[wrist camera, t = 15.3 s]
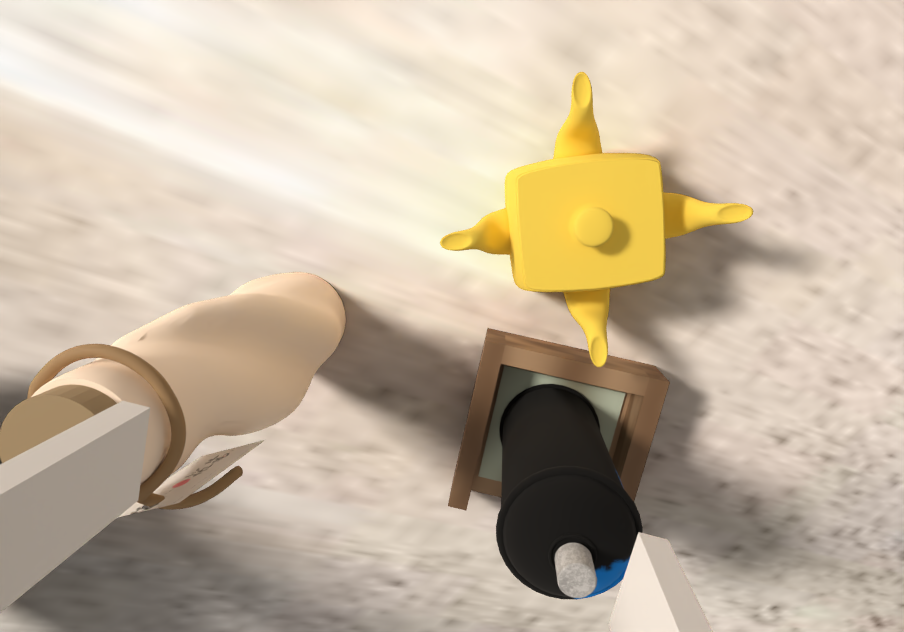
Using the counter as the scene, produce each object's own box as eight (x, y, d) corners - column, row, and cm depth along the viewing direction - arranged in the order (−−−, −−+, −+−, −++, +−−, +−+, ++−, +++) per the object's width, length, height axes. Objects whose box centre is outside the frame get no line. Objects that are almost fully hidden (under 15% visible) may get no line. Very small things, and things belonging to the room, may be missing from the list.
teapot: (449, 236, 48) (436, 244, 39) (562, 89, 45) (578, 60, 36) (589, 346, 49) (609, 381, 39) (709, 209, 46) (762, 211, 36)
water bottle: (385, 339, 50) (238, 506, 23) (306, 399, 52) (81, 620, 24) (309, 242, 49) (60, 294, 22) (231, 306, 51) (-92, 428, 23)
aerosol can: (479, 437, 50) (461, 590, 30) (540, 362, 48) (564, 472, 28) (557, 495, 50) (589, 683, 30) (620, 422, 48) (698, 572, 29)
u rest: (453, 480, 52) (447, 505, 48) (487, 328, 49) (485, 340, 45) (610, 517, 51) (620, 547, 47) (655, 365, 48) (669, 382, 44)
